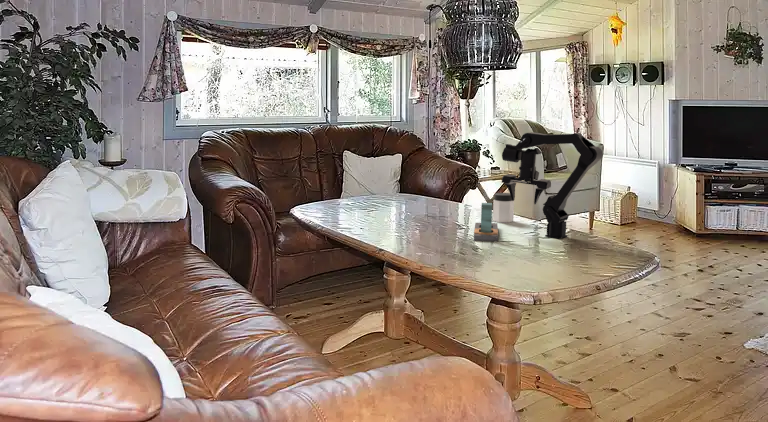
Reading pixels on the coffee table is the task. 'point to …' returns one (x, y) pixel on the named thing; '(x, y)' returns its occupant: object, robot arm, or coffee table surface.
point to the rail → (486, 233)
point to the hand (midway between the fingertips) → (524, 202)
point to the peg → (486, 217)
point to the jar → (503, 208)
